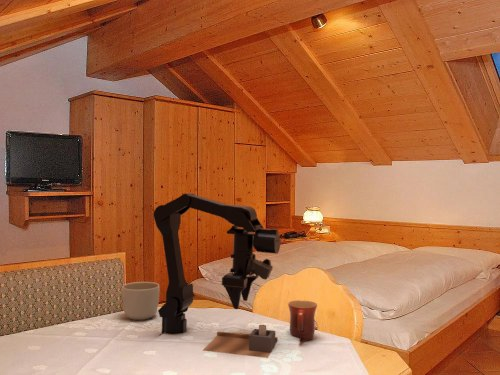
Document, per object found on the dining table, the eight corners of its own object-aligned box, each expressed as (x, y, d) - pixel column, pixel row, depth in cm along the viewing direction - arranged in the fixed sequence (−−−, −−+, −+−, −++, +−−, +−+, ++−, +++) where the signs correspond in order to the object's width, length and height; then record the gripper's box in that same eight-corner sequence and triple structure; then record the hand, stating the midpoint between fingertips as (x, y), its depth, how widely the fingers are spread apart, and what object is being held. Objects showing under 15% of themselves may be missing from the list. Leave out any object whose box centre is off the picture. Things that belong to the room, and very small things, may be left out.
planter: (122, 313, 158) (122, 282, 158) (158, 311, 161) (158, 281, 161) (121, 324, 146) (121, 290, 146) (159, 321, 149) (160, 289, 149)
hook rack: (202, 354, 120) (202, 327, 120) (217, 338, 133) (218, 314, 133) (267, 362, 116) (268, 334, 116) (277, 345, 129) (277, 320, 128)
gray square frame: (248, 350, 121) (248, 335, 121) (254, 342, 127) (254, 328, 127) (270, 352, 119) (270, 337, 119) (275, 345, 125) (275, 330, 125)
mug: (289, 332, 140) (289, 299, 140) (317, 334, 138) (318, 301, 138) (284, 345, 128) (284, 309, 128) (315, 348, 127) (315, 311, 127)
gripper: (262, 257, 117) (260, 317, 117) (277, 248, 135) (275, 299, 135) (222, 254, 120) (219, 312, 120) (241, 245, 138) (239, 295, 138)
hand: (240, 304), depth 128 cm, fingers open, 9 cm apart
